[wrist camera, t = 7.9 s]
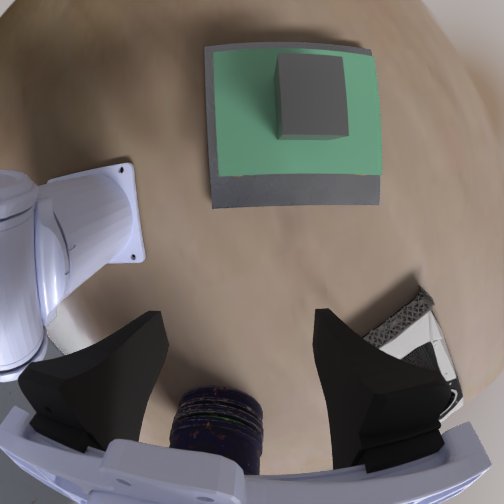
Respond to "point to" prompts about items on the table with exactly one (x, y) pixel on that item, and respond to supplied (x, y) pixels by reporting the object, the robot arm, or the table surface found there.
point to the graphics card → (420, 344)
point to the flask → (6, 470)
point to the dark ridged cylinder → (220, 425)
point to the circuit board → (258, 118)
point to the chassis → (281, 185)
